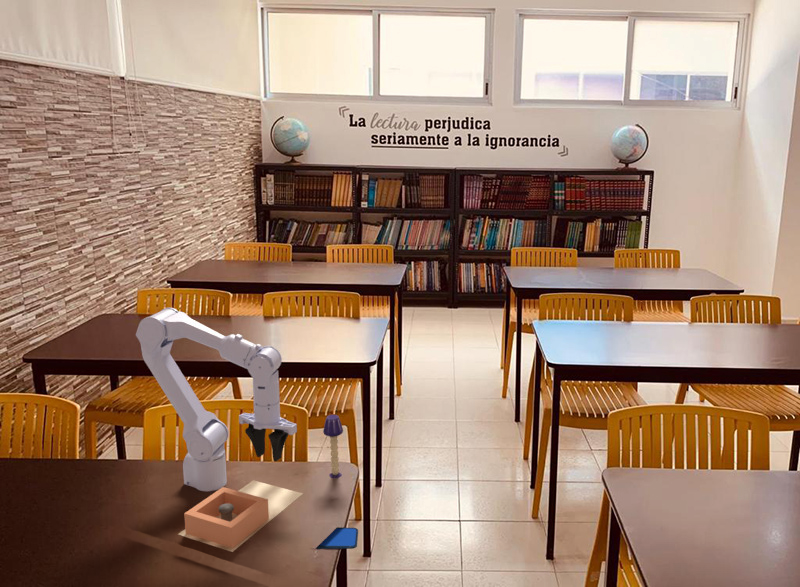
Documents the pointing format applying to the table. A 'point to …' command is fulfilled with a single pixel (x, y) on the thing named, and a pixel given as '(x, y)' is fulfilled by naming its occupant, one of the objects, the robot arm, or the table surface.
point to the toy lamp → (333, 441)
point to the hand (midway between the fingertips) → (268, 457)
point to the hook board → (274, 494)
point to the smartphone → (340, 539)
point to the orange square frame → (221, 531)
